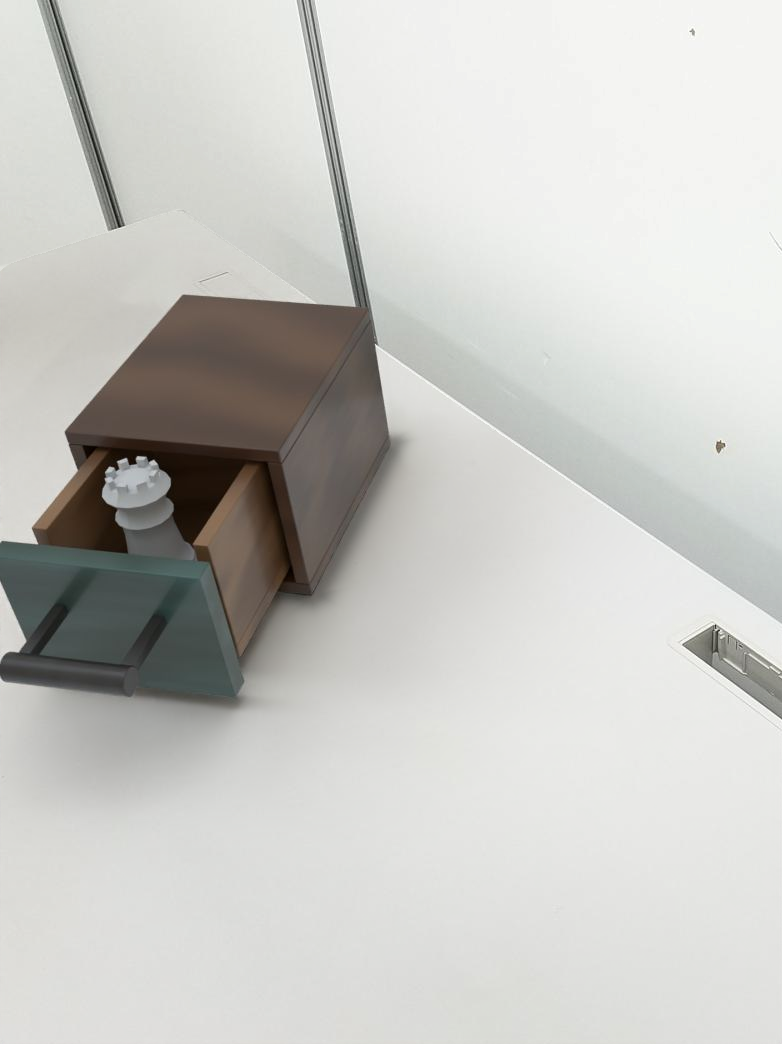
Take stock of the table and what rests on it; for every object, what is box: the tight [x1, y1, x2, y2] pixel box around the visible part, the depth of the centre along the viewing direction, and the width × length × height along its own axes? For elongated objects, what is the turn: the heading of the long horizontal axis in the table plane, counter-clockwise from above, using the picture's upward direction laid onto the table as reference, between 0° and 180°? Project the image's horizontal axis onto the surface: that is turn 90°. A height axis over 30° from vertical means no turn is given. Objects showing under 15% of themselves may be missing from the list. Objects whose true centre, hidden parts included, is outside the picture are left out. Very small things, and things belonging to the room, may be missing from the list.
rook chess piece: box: [102, 456, 198, 561], centre depth 64 cm, size 4×4×8 cm
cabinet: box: [64, 293, 391, 596], centre depth 72 cm, size 15×12×10 cm
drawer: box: [0, 446, 292, 699], centre depth 64 cm, size 18×10×8 cm, turn 170°
